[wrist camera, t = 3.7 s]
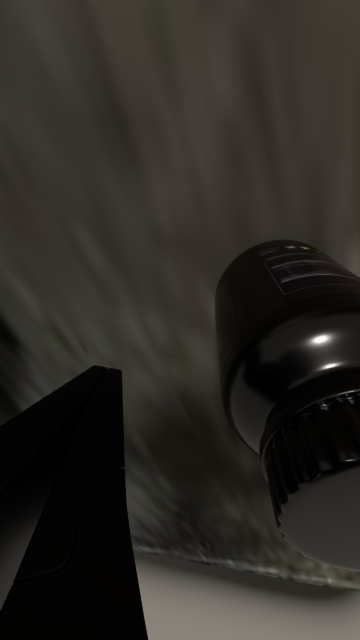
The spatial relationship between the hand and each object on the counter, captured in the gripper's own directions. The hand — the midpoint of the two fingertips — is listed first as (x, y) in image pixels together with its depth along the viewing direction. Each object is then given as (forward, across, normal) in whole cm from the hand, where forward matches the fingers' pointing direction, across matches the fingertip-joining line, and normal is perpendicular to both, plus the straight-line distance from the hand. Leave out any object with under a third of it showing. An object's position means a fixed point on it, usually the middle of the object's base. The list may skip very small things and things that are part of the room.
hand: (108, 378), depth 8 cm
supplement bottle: (+9, -7, 0) cm, 12 cm away
